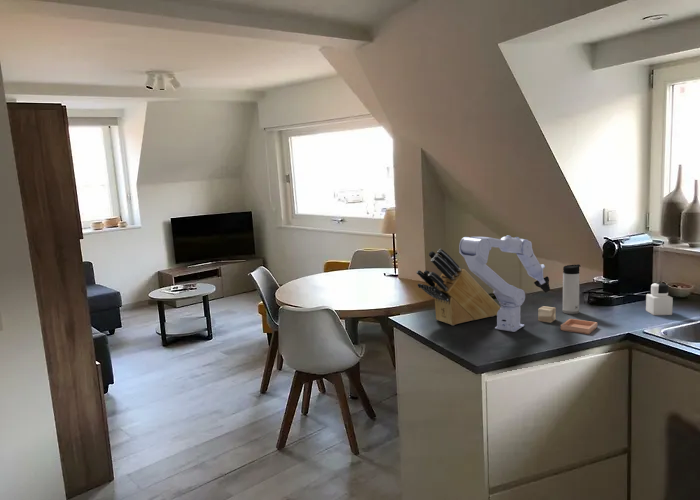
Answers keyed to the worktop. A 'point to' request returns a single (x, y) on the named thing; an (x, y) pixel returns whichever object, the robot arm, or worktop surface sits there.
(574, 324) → the terracotta tray
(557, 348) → the worktop surface
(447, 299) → the knife block
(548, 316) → the beech block
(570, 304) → the travel mug
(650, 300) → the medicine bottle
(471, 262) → the robot arm
